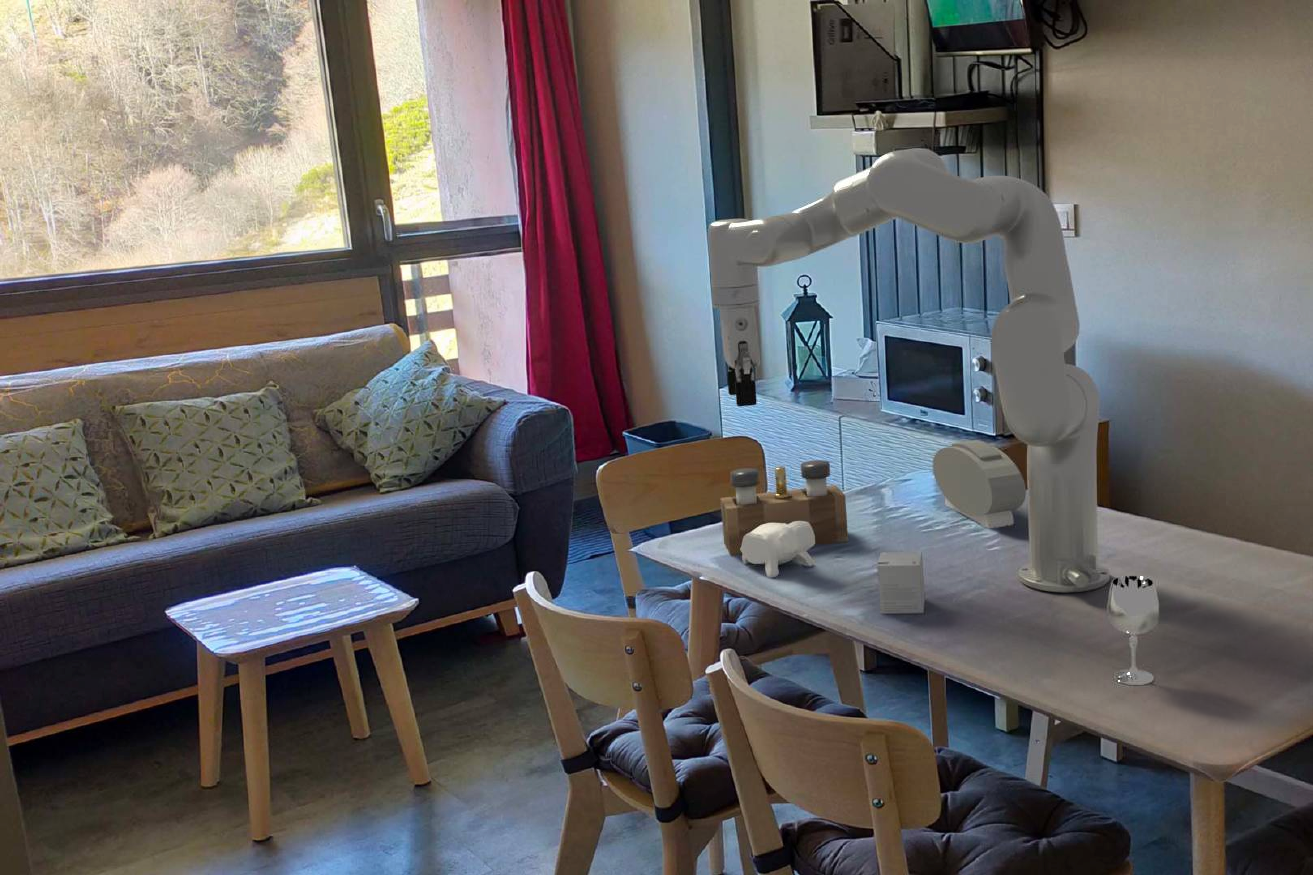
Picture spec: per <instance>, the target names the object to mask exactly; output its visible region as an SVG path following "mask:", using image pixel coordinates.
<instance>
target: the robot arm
mask: <svg viewBox="0 0 1313 875" xmlns="http://www.w3.org/2000/svg"><path fill="white" fill-rule="evenodd" d="M947 168H948V167H947V166H946V163H945V162H944V160H943V159H942V158H941V156H940V155H939V154H938V153H936V152H935V151H932V150H930V149H928V148H927V149H926V148H921V147H919V148H918V147H917V148H916V147H915V148H908V149H900V150H898V149H897V150H894V151H891V152H887V153H885V154H884V155H883V154H882V156H880V157H879V158H877V160H876V161H874V163H873V164H872V165H871V167H868V168H866V169H864V170H861V171H859V172H857V173H854V174H852V175H849V176H848V177H845V178H843V179H841V180H839V181H837V182H835V184H834V185H833V188H832V190H831V192H830V193H829V194H828V195H826V196H824V197H822V198H820V199H818V200H817V201H814V202H812V203H809V204H808V205H805V206H802V207H800V208H798V209H796V210H793V211H791V212H788V213H783V214H776V215H771V216H768V217H763V218H757V219H753V220H750V219H747V218H730V219H729V218H728V219H719V220H715V221H713V222H711V223H710V225H708V230H707V239H708V243H707V244H708V256H709V268H710V269H709V270H710V281H711V282H710V283H711V295H712V300H711V301H712V307H713V309H719V310H720V311H719V312H720V314H719V315H720V328H721V339H722V340H721V341H722V348H723V356H724V361H725V362H726V364H727V367H726V368H727V371H726V376H727V388H728V394H729V396H735V399H736V400H735V401H736V406H737V407H748V406H750V407H751V406H755V405H757V402H758V401H757V389H756V388H757V387H756V386H757V385H756V380H755V373H754V368H753V365H754V366H755V367H759V366H760V365H761V357H760V348H759V347H760V345H759V336H758V335H759V334H758V326H757V320H756V319H757V318H756V312H755V307H754V306H759V305H760V296H759V281H758V279H759V278H758V267H765V268H766V267H767V268H768V267H772V266H773V267H774V266H776V265H780V264H784V263H787V262H792V261H796V260H797V261H798V260H800V259H802V258H805V257H807V256H811V255H813V254H815V253H817V252H819V251H822V250H824V249H827V248H829V247H831V246H834V245H836V244H838V243H841V242H843V241H846V240H847V239H849V238H853V237H854V238H855V237H857V236H859V235H860V234H864V233H865V232H868V231H870V230H873V229H876V228H877V227H880V226H881V225H884V224H887V223H889V222H891V221H893V220H896V219H900V220H902V221H905V222H907V223H909V224H912V225H914V226H917V227H919V228H921V229H923V230H926V231H928V232H930V233H932V234H935V235H937V236H940V237H941V238H945V239H946V240H949V241H952V242H956V243H961V244H975V243H979V242H982V241H985V240H989V239H992V238H995V237H998V238H1000V239H1001V241H1002V243H1003V246H1004V247H1003V249H1004V251H1003V252H1004V256H1003V260H1004V261H1003V263H1004V274H1005V278H1006V282H1007V287H1008V295H1009V303H1008V304H1007V305H1006V306H1004V307H1003V308H1002V309H1001V310H1000V312H999V313H998V314H997V316H996V317H995V320H994V322H993V324H992V328H991V335H990V336H991V337H990V344H991V345H990V347H991V354H992V359H993V365H994V371H995V376H996V380H997V387H998V392H999V398H1000V404H1001V407H1002V413H1003V416H1004V420H1005V423H1006V425H1007V427H1008V429H1009V431H1010V432H1011V433H1012V434H1013V435H1014V437H1015V438H1016V439H1018V440H1019V441H1020V442H1022V443H1024V444H1025V445H1027V449H1026V450H1027V451H1026V473H1027V474H1026V484H1027V485H1026V486H1027V490H1026V491H1027V512H1028V514H1027V517H1028V518H1027V519H1028V520H1027V521H1028V543H1029V545H1028V547H1029V548H1028V549H1029V562H1028V563H1025V564H1024V565H1023V566H1021V567H1020V568H1019V572H1018V578H1019V580H1020V582H1021V583H1023V584H1024V585H1025V586H1027V587H1029V588H1032V589H1034V590H1039V591H1045V592H1052V593H1080V592H1081V593H1082V592H1086V591H1087V592H1088V591H1091V590H1095V589H1098V588H1101V587H1103V586H1105V585H1106V584H1107V583H1109V581H1110V578H1111V577H1110V571H1109V568H1107V567H1106V566H1105V565H1103V564H1101V563H1099V552H1098V551H1099V549H1098V548H1099V546H1098V545H1099V544H1098V543H1099V542H1098V541H1099V539H1098V538H1099V537H1098V536H1099V535H1098V498H1097V497H1098V491H1097V489H1098V488H1097V487H1098V484H1097V483H1098V482H1097V476H1098V475H1097V473H1098V472H1097V446H1098V430H1099V420H1100V403H1101V402H1100V396H1099V390H1098V387H1097V385H1096V382H1095V381H1094V380H1093V377H1092V376H1091V375H1090V374H1089V373H1088V372H1087V371H1086V370H1084V369H1082V368H1081V367H1078V366H1076V365H1073V364H1068V363H1067V364H1066V360H1065V356H1064V354H1065V353H1066V352H1067V351H1069V349H1071V347H1073V346H1074V344H1076V341H1077V339H1078V337H1079V334H1080V319H1079V314H1078V308H1077V303H1076V299H1075V292H1074V288H1073V287H1074V286H1073V281H1072V277H1071V276H1072V275H1071V271H1070V267H1069V262H1068V256H1067V250H1066V245H1065V244H1066V243H1065V240H1064V233H1063V228H1062V223H1061V220H1060V217H1059V214H1058V211H1057V210H1056V207H1055V206H1054V203H1053V202H1052V200H1051V199H1050V198H1049V197H1048V195H1047V194H1046V193H1045V192H1044V191H1043V190H1041V189H1040V188H1039V187H1038V186H1036V185H1034V184H1033V183H1031V182H1028V181H1026V180H1024V179H1022V178H1017V177H1014V176H1008V175H989V176H983V177H978V178H975V179H970V180H969V179H966V178H964V177H961V176H958V175H956V174H953V173H951V172H948V169H947Z"/></svg>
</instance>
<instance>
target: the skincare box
mask: <svg viewBox="0 0 1313 875" xmlns="http://www.w3.org/2000/svg"><path fill="white" fill-rule="evenodd" d="M923 560H924V559H923V552H922V551H905V552H904V551H903V552H902V551H901V552H900V551H898V552H897V551H896V552H895V551H894V552H893V551H892V552H891V551H890V552H889V551H888V552H886V551H885V552H880V553H879V558H878V562H877V565H876V568H877V571H876V572H877V581H878V582H877V583H878V592H879V593H878V594H879V607H880V614H881V615H887V614H888V615H893V614H894V615H896V614H899V615H900V614H901V615H902V614H924V612H925V611H924V609H925V599H926V594H925V591H926V590H925V581H924V580H925V579H924V564H923V563H924V562H923Z"/></svg>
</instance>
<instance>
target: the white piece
mask: <svg viewBox="0 0 1313 875" xmlns="http://www.w3.org/2000/svg"><path fill="white" fill-rule="evenodd" d="M814 544H815V535H814V532H813V529H812V527H811V525H810V524H809V523H808V522H806V521H794V522H792V523H790V524H788V525H787V524H785V523H766V524H763V525H761V526H759V527H757V528H756V529H754V530H753V531H752V532H750V533H748V534H746V535H745V536H744V538H743V541H742V545H741V548H740V550H741V552H742V555H741V559H742V560H743V564H744V565H747V564H749V563H751V564H754V565H756V564H757V565H758V564H761V565H764V570H765V571H764V572H765V574H766V576H767V577H768V578H769V577H771V578H770V579H773V578H777V576H778V575H779V573H780V572H779V567H778V566H779V565H782V564H786V563H788V562H790V561H792V560H797V561H800V563H801V564H802V565H803V566H806V567H807V566H809V567H812V565H813V566H814V564H815V561H814V559H813V557H811V555H810V554H809V553H808V552H807V551H808V550H809V549H810V548H812V547H814V546H815V545H814Z"/></svg>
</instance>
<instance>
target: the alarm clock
mask: <svg viewBox="0 0 1313 875" xmlns="http://www.w3.org/2000/svg"><path fill="white" fill-rule="evenodd" d="M932 472H933V476H934V479H935V482H936V485H937V486H938V488H939V490H940V492H941V493H942V495H943V496H944V499H945V500H944V505H945V506H947V507H949V508H951V509H952V510H954V511H956V512H958V513H959V514H961V515H963V516H964V517H966V518H968V519H970V520H972V521H974V522H975V523H977V522H978V523H977V524H979V523H980V524H979V525H981V526H983V527H984V528H986V527H987V529H988V530H989V528H990V529H995V528H994V527H996V528H1001V527H1002V528H1003V527H1007V526H1006V525H1008V526H1012V525H1011V524H1014V515H1013V511H1016V510H1017V509H1019V508H1021V507H1022V506H1023V505H1024V502H1025V500H1026V496H1027V490H1026V483H1025V480H1024V478H1023V475H1022V472H1021V471H1020V470H1019V468H1018V466H1017V465H1016V464H1015V462H1014V461H1013V460H1012V459H1011V458H1010V457H1009V455H1007V454H1006V453H1005V452H1003V451H1002V450H1001V449H999V448H997V447H995V446H993V445H992V444H989V443H987V442H985V441H982V440H978V439H974V440H965V441H959V442H953V443H952V444H951V446H947V447H943V448H941V449H938V451H937V452H936V453H935V454H934V455H933V458H932Z"/></svg>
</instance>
